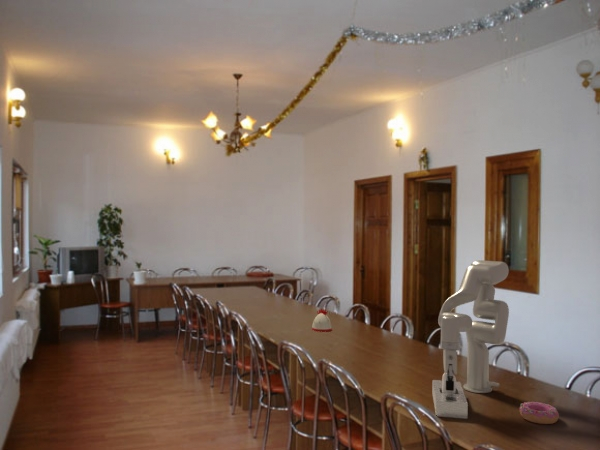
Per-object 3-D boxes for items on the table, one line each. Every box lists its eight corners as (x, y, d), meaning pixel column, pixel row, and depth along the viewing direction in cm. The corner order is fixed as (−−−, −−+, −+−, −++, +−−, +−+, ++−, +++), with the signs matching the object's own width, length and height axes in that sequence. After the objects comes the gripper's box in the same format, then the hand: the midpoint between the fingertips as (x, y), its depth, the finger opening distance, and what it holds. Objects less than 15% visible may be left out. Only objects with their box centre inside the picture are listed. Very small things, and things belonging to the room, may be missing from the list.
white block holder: (459, 395, 243) (460, 381, 243) (467, 418, 214) (467, 403, 214) (432, 393, 246) (432, 379, 246) (436, 416, 216) (436, 400, 216)
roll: (446, 363, 234) (458, 366, 230) (446, 391, 234) (458, 394, 230) (440, 366, 229) (452, 368, 226) (439, 394, 230) (451, 397, 226)
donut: (547, 412, 223) (547, 400, 223) (565, 425, 209) (566, 412, 209) (513, 412, 223) (513, 400, 223) (529, 425, 208) (529, 412, 208)
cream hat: (325, 332, 377) (325, 311, 377) (308, 330, 384) (308, 309, 384) (335, 329, 389) (335, 308, 389) (318, 327, 396) (318, 306, 396)
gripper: (461, 350, 221) (460, 394, 221) (457, 341, 237) (456, 382, 238) (442, 349, 222) (441, 393, 222) (439, 340, 239) (438, 381, 239)
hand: (449, 387), depth 230 cm, fingers closed on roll, 5 cm apart
